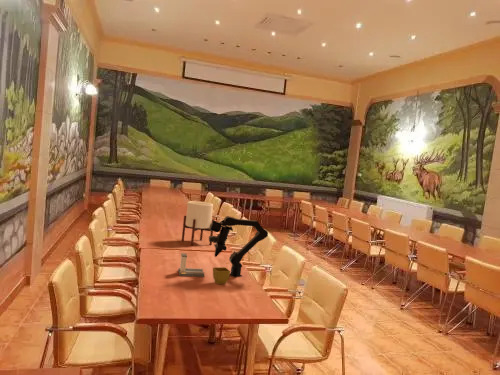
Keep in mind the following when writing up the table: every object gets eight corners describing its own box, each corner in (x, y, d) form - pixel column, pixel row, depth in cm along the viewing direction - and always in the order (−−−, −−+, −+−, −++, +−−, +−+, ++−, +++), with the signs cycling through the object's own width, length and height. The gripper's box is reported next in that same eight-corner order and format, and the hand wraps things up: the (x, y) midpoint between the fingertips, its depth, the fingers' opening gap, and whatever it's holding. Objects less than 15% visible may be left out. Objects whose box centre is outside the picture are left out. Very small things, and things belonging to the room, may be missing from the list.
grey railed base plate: (202, 271, 286) (202, 267, 286) (204, 276, 275) (204, 273, 274) (178, 270, 282) (178, 266, 282) (179, 275, 271) (179, 272, 271)
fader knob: (184, 269, 281) (186, 253, 280) (185, 272, 274) (187, 255, 274) (179, 269, 280) (181, 253, 279) (180, 271, 273) (181, 255, 273)
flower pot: (211, 281, 267) (212, 267, 266) (224, 280, 270) (225, 267, 270) (215, 285, 259) (217, 271, 258) (228, 285, 262) (230, 271, 262)
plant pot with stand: (213, 245, 373) (217, 205, 371) (190, 246, 360) (194, 204, 358) (201, 239, 392) (205, 201, 389) (179, 240, 379) (183, 200, 376)
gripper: (210, 228, 288) (202, 249, 288) (214, 233, 270) (205, 256, 270) (225, 233, 291) (217, 254, 291) (230, 239, 273) (221, 261, 273)
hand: (215, 256), depth 281 cm, fingers closed
